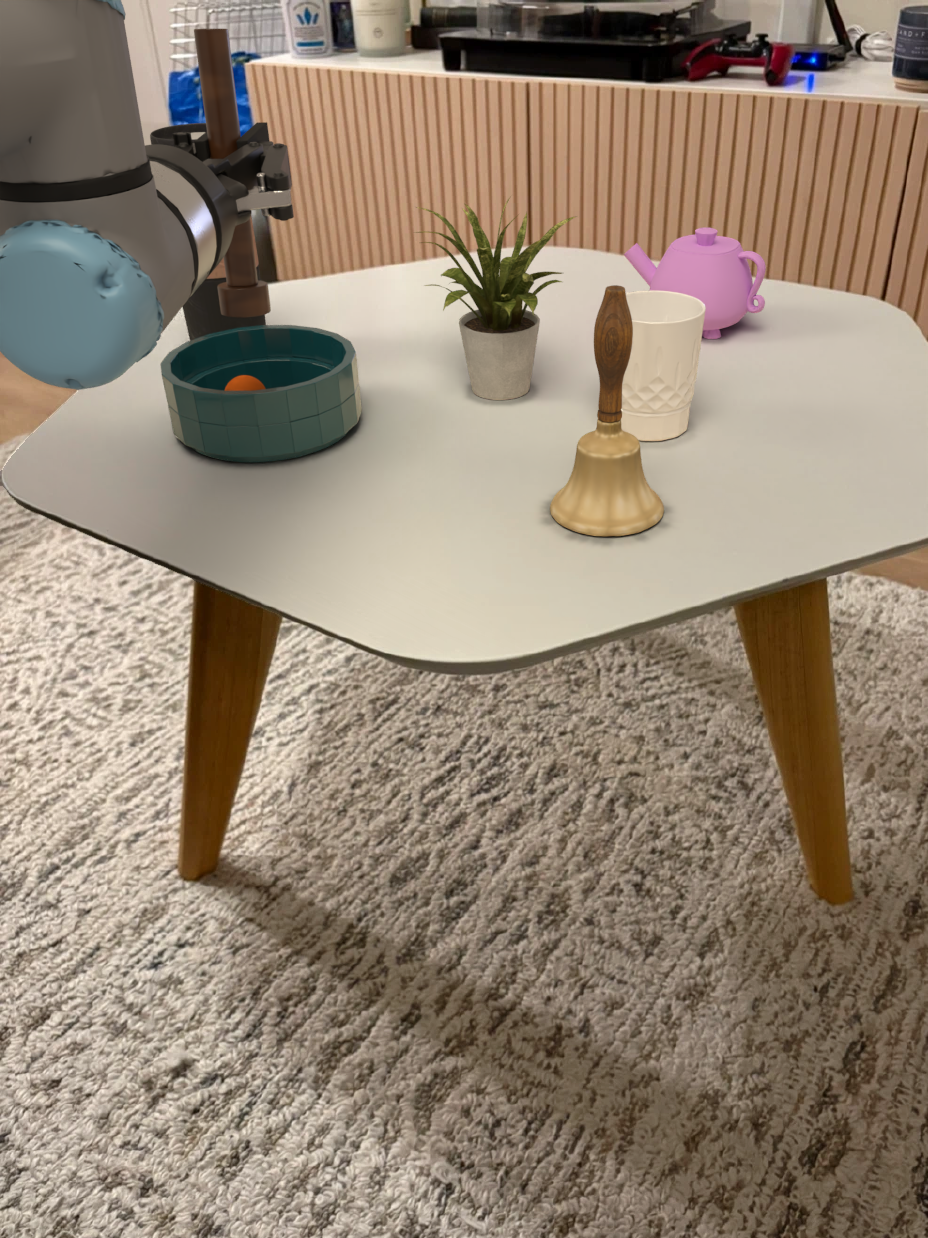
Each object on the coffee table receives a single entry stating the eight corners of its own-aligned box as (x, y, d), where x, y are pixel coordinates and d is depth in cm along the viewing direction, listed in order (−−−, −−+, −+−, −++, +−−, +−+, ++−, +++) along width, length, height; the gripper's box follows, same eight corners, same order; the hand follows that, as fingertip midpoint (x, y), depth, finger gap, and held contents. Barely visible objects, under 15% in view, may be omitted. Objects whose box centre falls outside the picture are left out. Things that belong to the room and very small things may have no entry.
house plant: (378, 404, 97) (360, 208, 87) (450, 352, 107) (441, 171, 97) (526, 431, 92) (525, 226, 82) (587, 373, 102) (592, 184, 92)
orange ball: (222, 377, 93) (214, 416, 92) (235, 362, 90) (226, 402, 89) (263, 392, 95) (256, 430, 94) (277, 377, 92) (269, 417, 91)
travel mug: (182, 372, 104) (136, 140, 92) (203, 343, 110) (162, 122, 98) (262, 372, 103) (227, 139, 91) (279, 343, 110) (247, 121, 98)
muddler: (218, 318, 79) (178, 28, 70) (224, 308, 82) (187, 29, 74) (268, 316, 80) (235, 27, 71) (272, 306, 83) (241, 28, 74)
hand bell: (531, 497, 82) (530, 280, 73) (628, 475, 85) (640, 263, 75) (581, 547, 76) (587, 317, 67) (685, 522, 79) (705, 297, 69)
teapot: (743, 351, 106) (755, 251, 100) (601, 328, 111) (604, 232, 106) (777, 319, 113) (789, 223, 107) (641, 298, 119) (646, 207, 113)
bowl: (152, 466, 88) (135, 394, 84) (202, 390, 100) (190, 324, 96) (346, 466, 87) (338, 393, 83) (373, 390, 99) (366, 324, 96)
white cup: (663, 453, 88) (673, 329, 82) (582, 430, 92) (585, 309, 86) (712, 420, 93) (723, 301, 87) (632, 399, 97) (638, 283, 91)
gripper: (36, 298, 64) (152, 198, 83) (296, 296, 64) (354, 196, 82) (-2, 158, 60) (130, 86, 78) (277, 155, 59) (343, 83, 78)
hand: (244, 142), depth 80 cm, fingers closed on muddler, 2 cm apart
